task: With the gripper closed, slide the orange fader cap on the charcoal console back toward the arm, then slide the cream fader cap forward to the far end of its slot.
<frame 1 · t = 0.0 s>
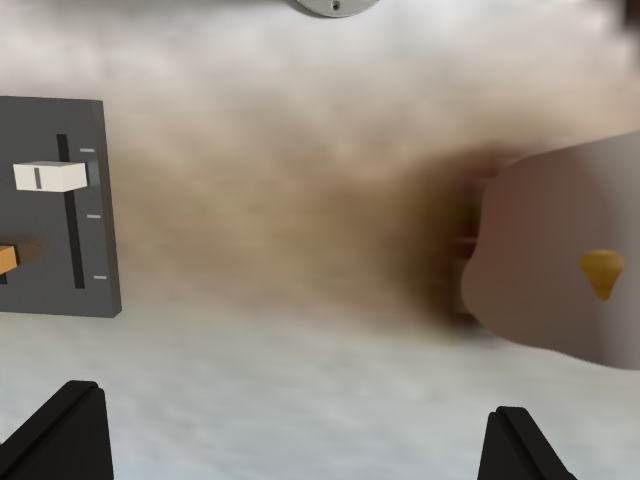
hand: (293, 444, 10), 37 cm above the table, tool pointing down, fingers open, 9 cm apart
console: (43, 209, 47), on the table
cream fader: (51, 175, 42), point 4 cm above the table, slide at 2.5 cm
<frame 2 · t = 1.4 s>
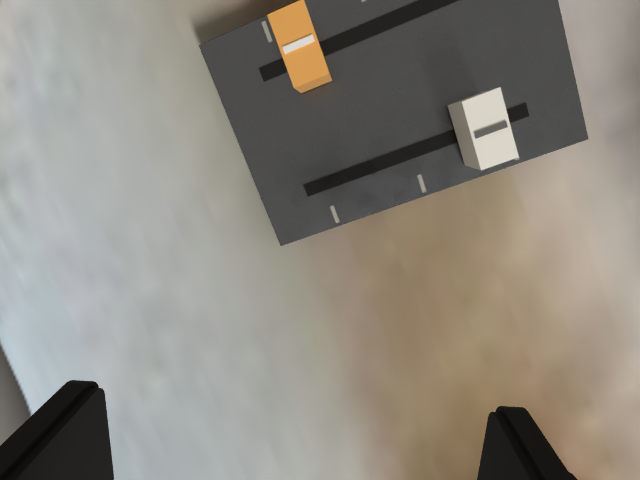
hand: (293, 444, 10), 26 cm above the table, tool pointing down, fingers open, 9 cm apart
orange fader: (302, 50, 28), point 4 cm above the table, slide at 12.0 cm
console: (390, 94, 32), on the table
cream fader: (481, 129, 28), point 4 cm above the table, slide at 2.5 cm
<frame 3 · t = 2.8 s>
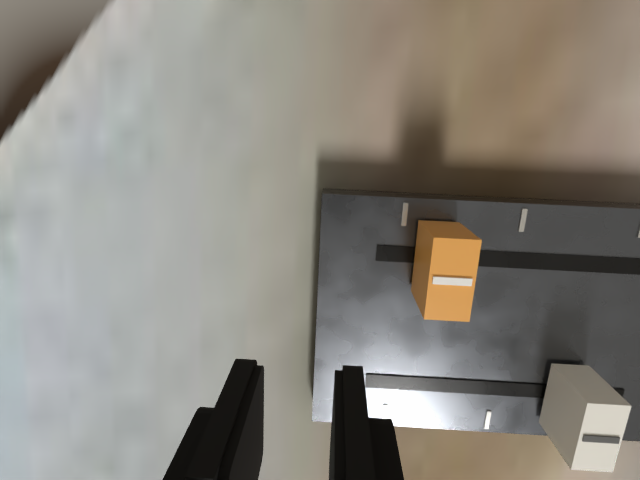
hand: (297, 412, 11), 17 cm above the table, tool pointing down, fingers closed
orange fader: (442, 268, 23), point 4 cm above the table, slide at 12.0 cm
console: (492, 313, 29), on the table
cream fader: (581, 415, 25), point 4 cm above the table, slide at 2.5 cm
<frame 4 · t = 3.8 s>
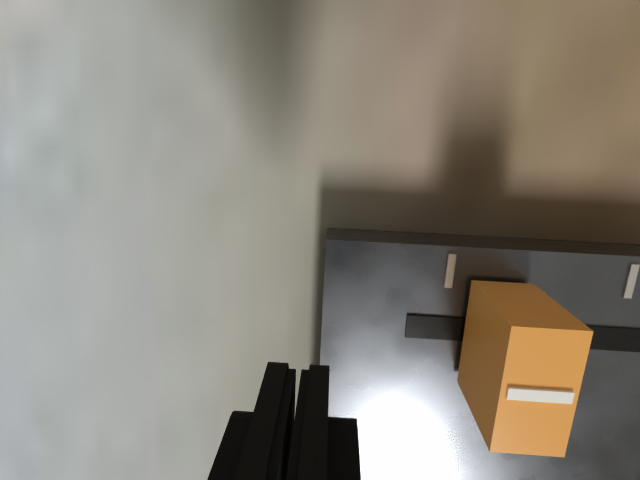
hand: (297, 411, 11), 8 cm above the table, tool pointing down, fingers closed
orange fader: (514, 361, 15), point 4 cm above the table, slide at 12.0 cm
console: (568, 403, 20), on the table
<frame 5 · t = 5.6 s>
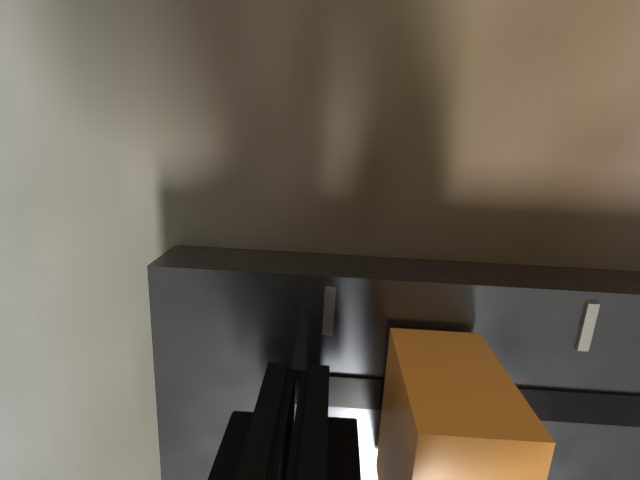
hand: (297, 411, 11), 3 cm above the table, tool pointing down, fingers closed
orange fader: (443, 458, 10), point 4 cm above the table, slide at 11.1 cm, touching gripper
console: (512, 475, 15), on the table
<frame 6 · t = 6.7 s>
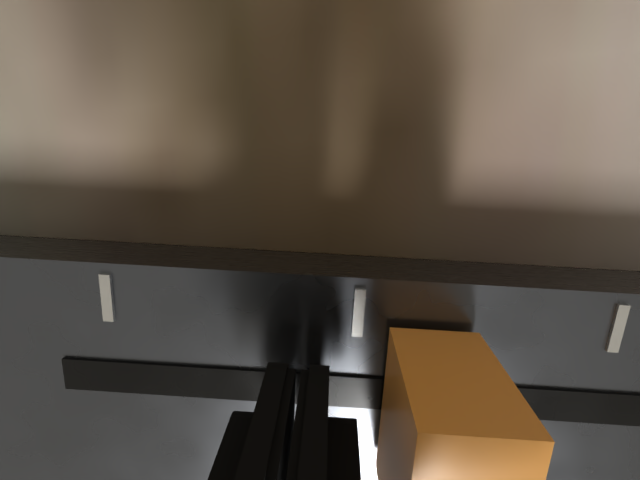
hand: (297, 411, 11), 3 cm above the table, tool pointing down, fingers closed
orange fader: (442, 457, 10), point 4 cm above the table, slide at 4.9 cm, touching gripper
console: (341, 463, 15), on the table
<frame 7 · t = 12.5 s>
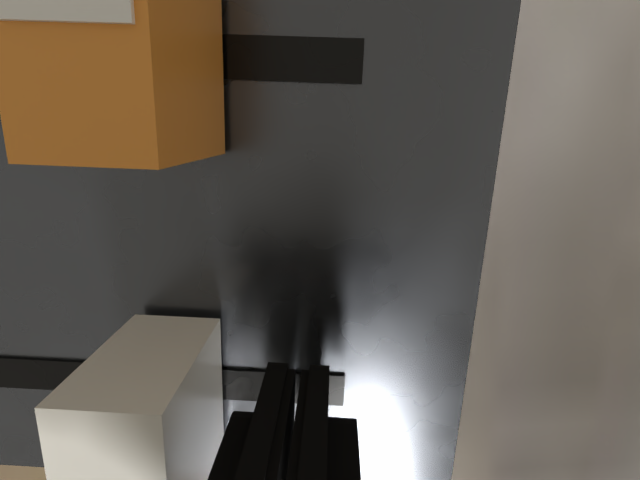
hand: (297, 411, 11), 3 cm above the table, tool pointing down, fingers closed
orange fader: (130, 35, 8), point 4 cm above the table, slide at 3.0 cm
console: (83, 214, 13), on the table
cream fader: (151, 437, 10), point 4 cm above the table, slide at 3.3 cm, touching gripper
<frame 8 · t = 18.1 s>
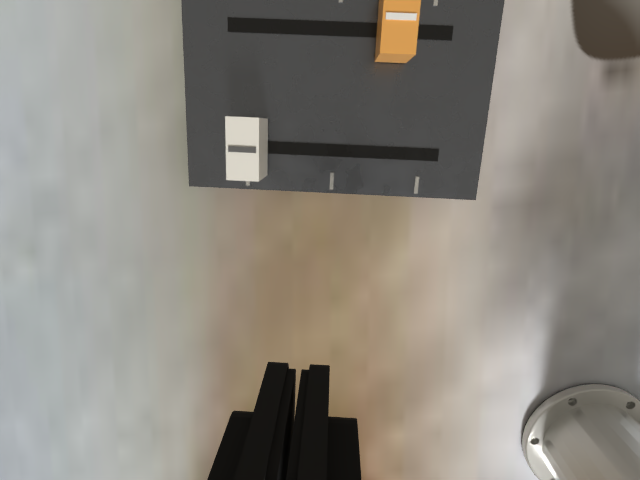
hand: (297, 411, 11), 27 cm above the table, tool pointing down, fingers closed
orange fader: (396, 23, 29), point 4 cm above the table, slide at 3.0 cm
console: (336, 93, 35), on the table
cream fader: (247, 148, 32), point 4 cm above the table, slide at 13.5 cm
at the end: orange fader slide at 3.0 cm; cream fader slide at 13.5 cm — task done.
